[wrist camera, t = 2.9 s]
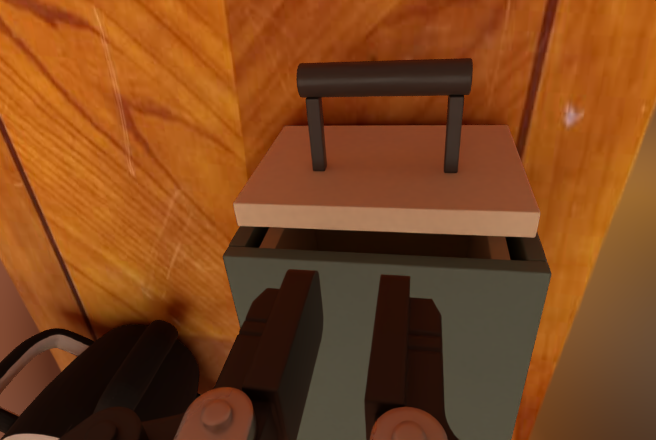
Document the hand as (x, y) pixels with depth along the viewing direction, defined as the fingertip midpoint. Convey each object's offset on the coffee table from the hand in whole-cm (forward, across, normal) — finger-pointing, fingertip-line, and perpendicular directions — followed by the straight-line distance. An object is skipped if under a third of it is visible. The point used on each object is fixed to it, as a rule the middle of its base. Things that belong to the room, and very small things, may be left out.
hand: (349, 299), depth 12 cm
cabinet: (+17, 0, +12) cm, 21 cm away
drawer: (+16, 0, +7) cm, 17 cm away
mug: (+17, +22, +25) cm, 37 cm away
